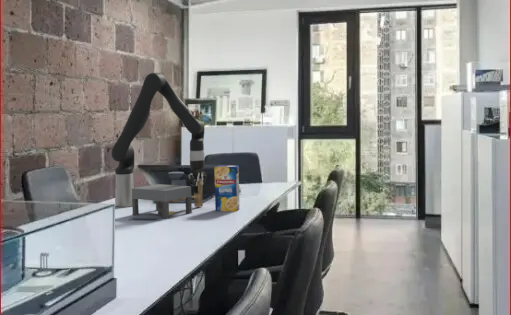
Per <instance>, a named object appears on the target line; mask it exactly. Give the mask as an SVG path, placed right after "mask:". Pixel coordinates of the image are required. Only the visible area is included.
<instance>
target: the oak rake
mask: <svg viewBox="0 0 511 315" xmlns="http://www.w3.org/2000/svg"><path fill="white" fill-rule="evenodd" d="M195 180H196V179H195ZM195 183H196V181H195ZM197 186H198V193H194V192H193V195H191V200H192V199H193V201H194V202H193V204H194V207H195V208H201V207H204V206H203V203H204V202H203V191H202V179H199V181H198V185H197ZM184 200H185V201H186V198H182V199H177V200H172V201H169V204H171V203H177V202H179V201H184ZM157 214H158V215H161V214H163V202H158V210H157Z"/></svg>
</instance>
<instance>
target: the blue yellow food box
mask: <svg viewBox="0 0 511 315" xmlns="http://www.w3.org/2000/svg"><path fill="white" fill-rule="evenodd" d="M239 166H240V165H238V164H237V165H233V164H232V165H216V166H214V168H213V169H214V197H215V198H214V202H215V203H214V204H215V205H214V206H215V212H238V211H239V210H240V208H241V207H240V176H239V174H240V171H239V169H240V167H239Z"/></svg>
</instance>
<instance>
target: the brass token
mask: <svg viewBox="0 0 511 315" xmlns="http://www.w3.org/2000/svg"><path fill="white" fill-rule="evenodd" d="M174 214H175V211H174V210H173V211H172V210H169V216H172V215H174ZM160 215H162V216H163V214H160Z"/></svg>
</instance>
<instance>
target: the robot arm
mask: <svg viewBox="0 0 511 315" xmlns="http://www.w3.org/2000/svg"><path fill="white" fill-rule="evenodd" d="M143 80H144V81H143V83H142V87H141V90H140V92H139V95H138V97H137V99H136V101H135V103H134V106H133V107H132V109H131V112H130V114H129V115H128V118H127V121H126V122H125V125H124V127H123V128H122V131H121V134H120V135H119V137H118V139H117V140H116V142H115V143H114V145H113V147H112V149H111V157H112V159H113V160H114V161H115V162H118V166H117V167H116V168H115V188H114V204H115V205H116V207H119V208H120V207H121V208H128V207H132V188H135V187H134V168H135V149H134V147H133V145H131V144H132V142H133V141H134V139H135V138H136V137H137V135H138V134H140V133H141V131H142V130H143V129H144V128H145V125H146V124H147V122H148V119H149V117H150V112H151V105H152V102H153V99H154V97H155V96H156V94H157V92H158V93H159V94H161V95H162V96H163V98H164V99H165V100H166V102H167V103H168V106H169V107H170V109H171V111H172V112H173V113H174V115H175V116H176V117H177V118H178V119H179V120H180V121H181V122H182V124H183V126H184V128H186V130H187V131H188V132H189V133H190V134H191V139H190V140H189V168H190V169H191V172H190V173H189V174H187V175H186V176H187V179H188V181H189V182H188V183H189V185H190V186H192V187H193V189H192V190H193V194H194V193H198V186H197V185H198V181H199V179H202V192H203V191H204V190H203V189H204V188H203V185H205V184H206V182H207V178H208V171H207V172H205V170H204V169H205V168H206V167H205V166H206V164H205V151H204V150H205V148H204V146H205V145H204V144H205V143H204V139H205V125H204V123H203V122H202V121H201V120H199V119H198V120H197V118H195V116H194V115H193V112H192V111H191V109H190V108H189V107H188V106H187V105H186V103H184V102H183V101H182V99H181V98H180V97H179V95H178V94H177V93H176V91H174V89H173V87H172V86H171V84H170V83H169V81H168V80H167V78H166V77H165V75H164V74H162V73H160V72H150V73H148V74H147V75H146V76H145V78H144V79H143ZM195 179H196V180H195ZM195 181H196V183H195Z"/></svg>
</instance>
